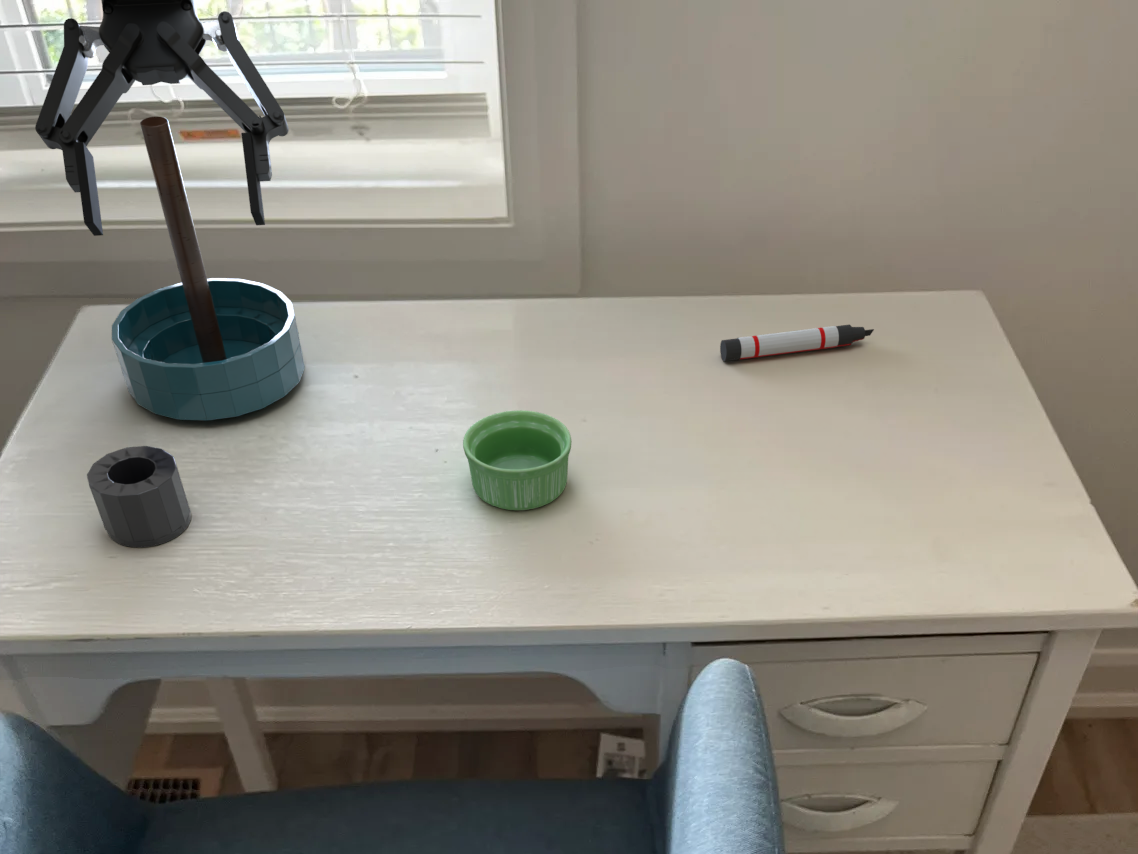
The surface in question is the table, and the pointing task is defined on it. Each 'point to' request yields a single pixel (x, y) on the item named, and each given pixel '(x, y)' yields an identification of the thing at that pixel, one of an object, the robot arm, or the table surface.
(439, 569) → the table surface
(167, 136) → the stick
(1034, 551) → the table surface
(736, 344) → the marker
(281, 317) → the bowl
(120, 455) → the crock
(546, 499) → the ramekin
